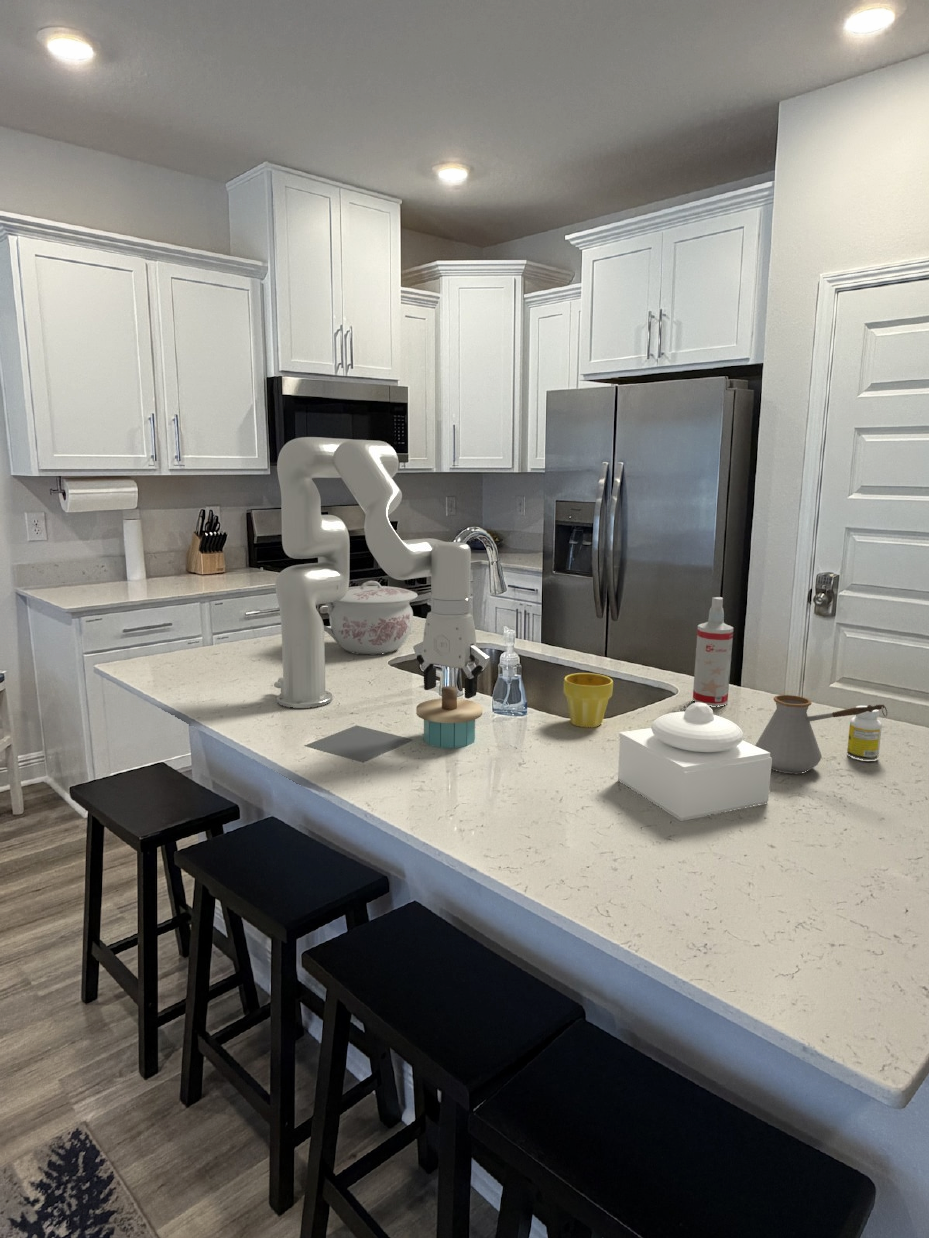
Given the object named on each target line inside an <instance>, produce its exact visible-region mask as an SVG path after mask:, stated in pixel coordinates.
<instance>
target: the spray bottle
mask: <svg viewBox="0 0 929 1238" xmlns="http://www.w3.org/2000/svg"><path fill="white" fill-rule="evenodd" d="M723 601H724V598H723V597H721V596H716V597H714V596H712V598H711V607H710V609H709V611H708V619H707V621H706V622H703V623H700V624H698V625H697V633H696V646H695V647H696V648H695V660H694V661H695V662H694V674H693V677H694V678H693V689H692V701H693V700H694V701H695V702H701V703H705V704H707V705H712V706H718V705H719V706H720V705H725V704H727V705H728V704H729V703H728V700H729V689H730V688H729V687H730V678H731V677H730V675H731V662H732V652H733V650H732V649H733V641H734V640H733V639H734V638H733V637H734V627H733V626H731V625H728V624H727V623H725V621H724V619H725V612H724V608H723V604H724V602H723Z"/></svg>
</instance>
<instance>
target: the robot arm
mask: <svg viewBox="0 0 929 1238" xmlns="http://www.w3.org/2000/svg"><path fill="white" fill-rule="evenodd" d="M399 462H400V461H399V457H398V454H397V452H396V450H395V449H394V447H393V446H391V444H389V443H387V442H386V441H382V440H373V439H372V440H371V439H370V440H369V439H368V440H367V439H350V438H333V437H321V436H320V437H317V436H305V437H304V436H303V437H297V438H294V439H291V440H289V441H287V442H286V443H285V444H284V445H283V447H282V448H281V449H280V451H279V454H278V457H277V462H276V464H277V465H276V472H277V478H278V482H279V487H280V497H281V544H282V549H283V551H284V554H285V555H286V556H288V557H289V558H292V559H296V560H297V559H298V560H299V559H300V560H303V559H315V558H317V562H314V563H312V562H311V563H304V564H294V565H291V566H288V567H286V568H284V569H283V570H281V571H280V572H278V575H277V577H276V579H275V583H274V585H275V586H274V587H275V589H274V590H275V594H276V598H277V599H276V600H277V602H278V606H279V607H278V608H279V614H280V624H281V625H280V626H281V627H280V629H281V648H282V649H281V651H282V652H281V653H282V677H279V678H278V679H277V681H275V682H274V683H273V684H274V685H273V687H274V688H277V689H280V693H279V694H278V695H277V696H276V702H278V703H279V704H278V703H277V704H278V705H280V706H282V705H283V706H282V707H285V706H287V707H286V708H290V707H293V708H292V709H311V708H310V707H312V708H318V707H321V706H320V705H322V706H325V704H326V705H328V704H330V703H331V702H332V701H333V693H332V692H330V691H328V690H326V661H325V660H326V656H325V654H326V653H325V652H326V651H325V649H326V648H325V646H326V645H325V631H324V626H325V625H324V621H323V619H322V617H321V614H320V613H319V611H318V609H317V606H319V605H326V604H325V603H332V602H335V601H339V600H341V599H342V598H343V597H344V596H345V595H346V593H347V591H348V587H350V556H351V555H350V547H351V545H350V544H351V543H350V534H349V531H348V527H347V526H346V524H345V522H344V521H343V520H342V519H341V518H340V517H338V516H336V515H334V514H333V515H332V514H322V509H321V506H322V505H321V504H322V503H321V501H322V499H321V495H320V492H319V490H318V487H317V485H316V484H315V482H314V481H313V479H316V478H319V479H320V478H326V479H331V478H332V479H333V478H335V479H339V478H340V479H341V480H342V481H343V482H344V484H345V486H346V487H347V489H349V491H350V493H351V494H352V496H353V497H354V499H355V500H356V502H357V503H358V506H359V507H360V508H361V509H362V510H363V512H364V514H365V517H364V518H365V519H364V528H363V529H364V537H365V541H366V545H367V547H368V550H369V552H370V553H371V554H372V556H373V558H374V559H375V561H376V562H377V564H378V565H379V567H380V568H381V569H382V570H383V571H384V572H385V574H387V575H388V577H391V578H392V579H394V580H397V581H398V580H399V581H406V580H411V579H419V578H427V577H431V579H430V580H431V581H430V584H431V586H430V589H431V590H430V594H431V595H430V596H431V597H430V598H428V599H427V602H426V605H428V606H430V609H431V610H430V611H429V612H427V615H426V619H425V623H424V630H423V639H422V640H423V641H420V642H419V643H417V644H415V645H413V647H412V649H413V651H414V653H415V656H416V660H417V662H418V663H419V665H420V669H421V670H423V689H424V691H429V690H432V689H435V688H436V687H437V668H436V667H434V666H440V667H445V668H446V667H447V668H453V669H462V670H463V672H464V674H465V675H466V676H467V677H465V678H464V698H465V699H466V700H469V699H471V698H474V697H475V696H476V695H477V694H478V677H480V676H481V674H482V673H483V672H484V671H485V670H486V667H487V666H488V663H489V662H490V656H489V655H487V653H485V652H483V651H482V650H481V649H480V648H478V647H477V636H476V635H477V634H476V627H475V621H474V616H473V614H471V586H472V585H471V574H472V573H471V571H472V570H471V569H472V566H471V565H472V551H471V550H472V549H471V547H470V545H468V544H467V543H465V542H459V541H443V540H441V539H437V538H431V537H430V538H429V537H428V538H425V537H424V538H414V539H405V540H404V539H403V540H402V539H401V537H400V536H399V535H398V533H397V532H396V530H395V529H394V527H393V526H392V524H391V522H390V519H389V515H391V514H392V513H393V512H394V511H395V510H396V509H397V508H398V507H399V505H400V503H402V499H403V493H402V490H401V489H400V487H399V486H398V485H397V483H396V482H395V481H394V479H393V478H394V477H395V476H396V475H397V473H398V471H399ZM315 605H316V606H315ZM477 660H478V663H477V664H476V661H477ZM329 702H330V703H329ZM327 703H328V704H327ZM317 706H318V707H317Z"/></svg>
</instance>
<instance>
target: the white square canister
mask: <svg viewBox="0 0 929 1238" xmlns="http://www.w3.org/2000/svg"><path fill="white" fill-rule="evenodd" d="M618 736H619V747H618V748H619V751H618V771H617V772H618V773H617V781H618V780H619V781H621V782H620V783H621V784H622V783H623V785H624V784H625V785H626V786H625V785H624V786H625V787H627V786H628V787H630V788H631V789H630V788H629V789H630V790H632V791H633V790H634V791H633V792H635V791H636V792H637V794H638V795H639V794H641V795H642V796H641V795H640V796H641V797H643V798H644V797H645V798H644V799H646V798H647V799H648V800H647V799H646V800H647V801H649V802H650V801H651V802H650V803H652V802H653V803H652V804H654V805H655V804H656V805H655V806H657V807H658V806H659V807H658V808H660V809H661V808H662V809H661V810H663V811H665V812H666V811H667V812H666V813H668V814H670V815H671V816H672V817H674V818H675V819H678V821H680V822H684V821H689V820H694V819H699V818H703V817H708V816H707V815H709V816H712V815H711V814H714V815H719V814H722V813H721V812H724V813H726V812H725V811H729V812H731V811H730V810H734V809H738V808H744V809H746V808H745V807H749V808H751V807H750V806H753V805H758V804H764V805H766V804H765V803H767V804H768V803H769V795H770V787H771V786H770V784H771V773H772V770H771V765H772V758H771V757H770V752H767V751H765V750H763V749H761V748H759V747H756V746H755V745H753V744H752V743H749V742H747V741H745V740H744V733H743V730H742V729H741V728H740V727H739V726H738V724H736V723H734V721H731V720H729V719H727V718H725V717H722V716H719V715H716V714H714V710H713V709H712V707H709V706H708V705H707V704H705V703H701V702H696V703H694V702H693V703H691V704H689V705H688V706H687V707H686V708H685V710H684V711H676V712H669V713H666V714H663V715H660V716H659V717H657V718H655V720H653V721H652V723H651V726H650V727H649V728H643V729H634V730H627V731H619V733H618ZM619 781H618V782H619ZM628 787H627V788H628ZM636 792H635V793H636ZM734 811H735V810H734ZM718 813H719V814H718Z"/></svg>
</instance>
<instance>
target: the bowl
mask: <svg viewBox="0 0 929 1238" xmlns="http://www.w3.org/2000/svg"><path fill="white" fill-rule="evenodd" d="M475 740H476V719H475V720H472V721H468V722H462V723H438V722H432V721H427V720H424V719H423V741H424V742H425V743H426V744H427V745H429V746H432V747H436V748H441V749H457V748H465V747H469V746H470V745H472V744H474V743H475V742H476V741H475Z"/></svg>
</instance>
